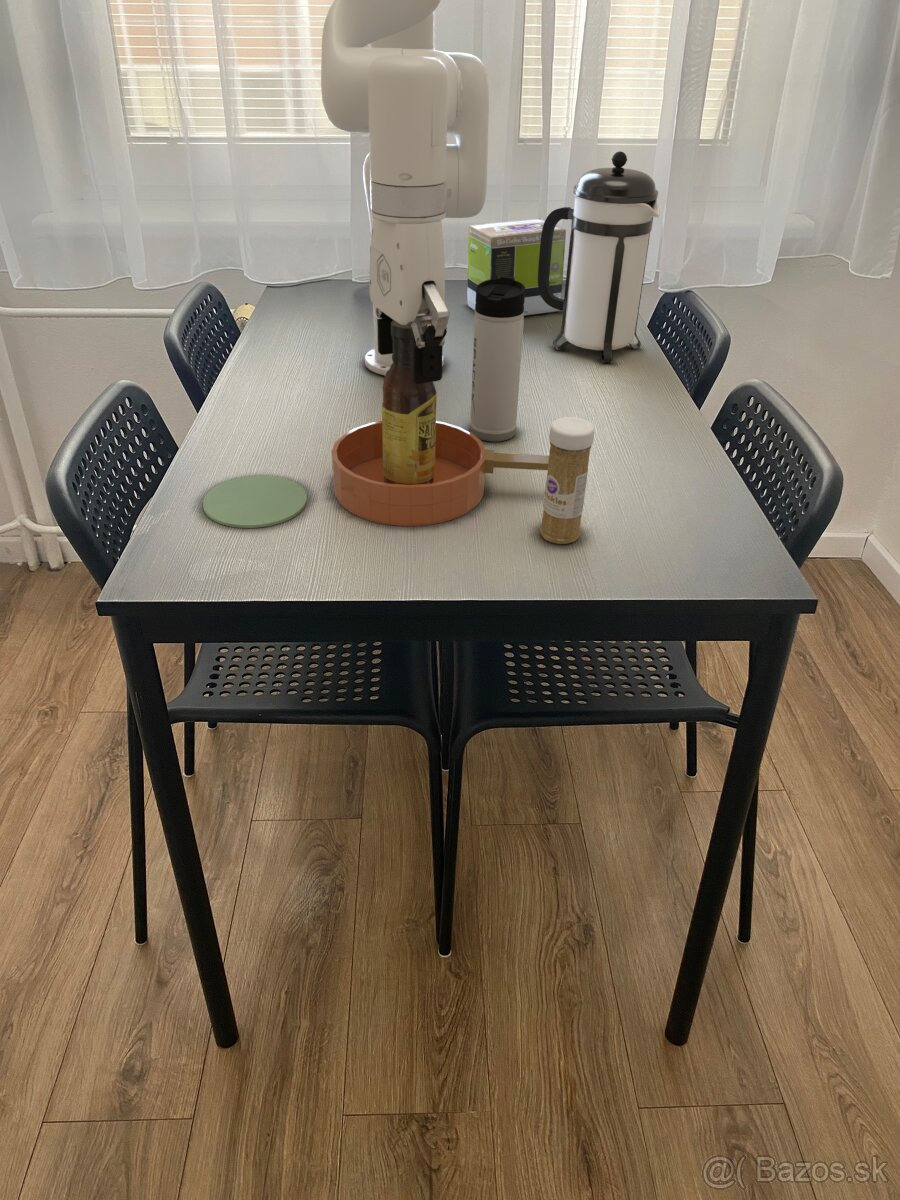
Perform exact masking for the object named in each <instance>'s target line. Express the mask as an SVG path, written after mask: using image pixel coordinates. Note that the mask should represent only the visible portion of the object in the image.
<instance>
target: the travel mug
mask: <svg viewBox="0 0 900 1200" xmlns="http://www.w3.org/2000/svg"><path fill="white" fill-rule="evenodd" d="M524 301H525V286H524V285H523V284H522V283H520V282H518V281H515V278H514V277H507V276H501V277H500V279H490V280H486V281H483V282H481V283H480V284H478V285H477V287H476V301H475V302H476V304H475V310H474V317H473V318H474V320H473V323H474V324H473V346H472V370H471V371H472V372H471V393H470V394H471V395H470V396H471V397H470V423H469V424H470V426H469V432H470V433H472V434H474V435H475V436H476V437H477V438H478V439H479V440H481V441H484V442H485V441H486V442H495V443H496V442H504V441H507V440H510V439H512V438H513V437H515V435H516V433H517V421H518V420H517V419H518V405H519V393H520V392H519V390H520V379H521V378H520V376H521V363H522V361H521V360H522V350H523V347H522V346H523V335H524V321H525V318H524V317H525V316H524Z"/></svg>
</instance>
